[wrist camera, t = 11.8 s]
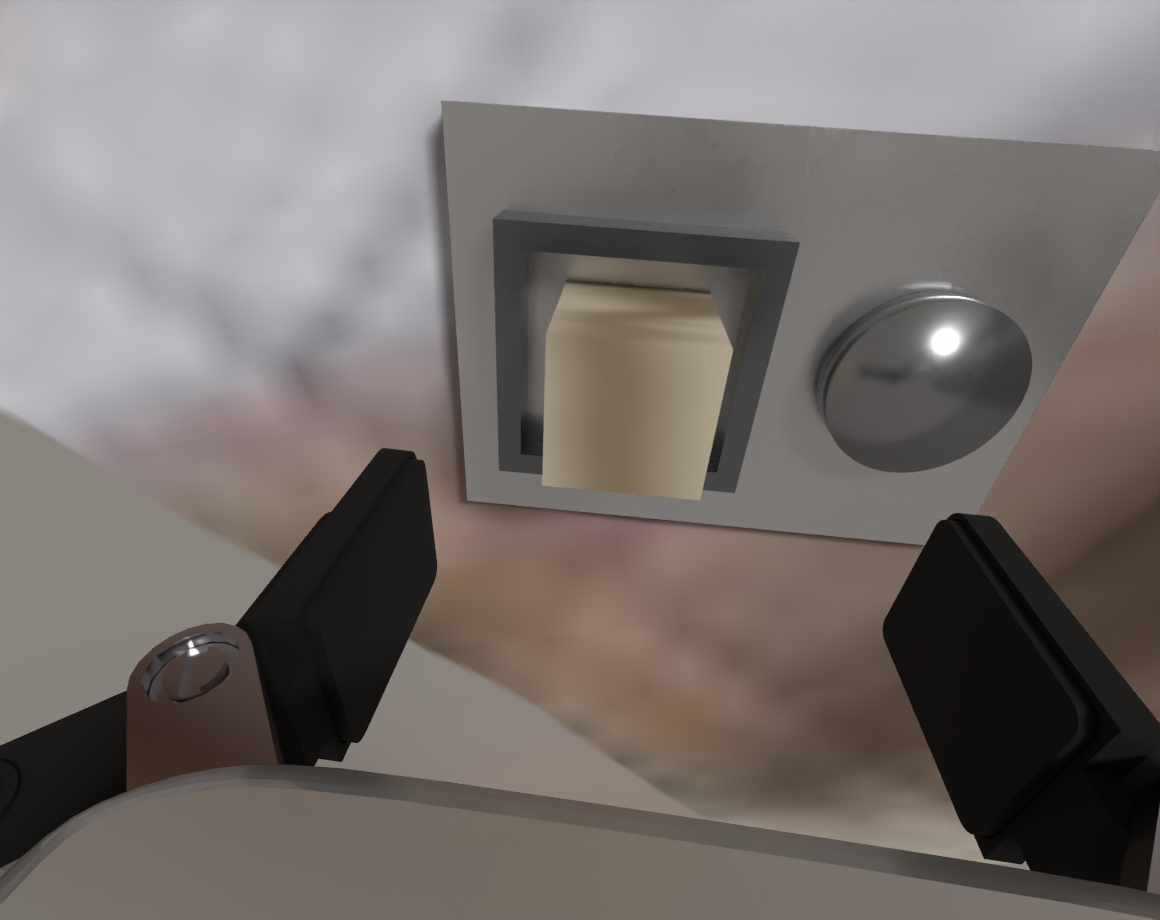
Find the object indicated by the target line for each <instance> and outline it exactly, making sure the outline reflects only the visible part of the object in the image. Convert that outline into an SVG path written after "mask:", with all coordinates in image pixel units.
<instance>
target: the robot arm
mask: <svg viewBox="0 0 1160 920" xmlns="http://www.w3.org/2000/svg"><path fill="white" fill-rule="evenodd" d="M436 572H437V559H436V550H435V542H434V533H433V525H432V516H431V508H430V500H429V491H428V483H427V474H426V467H425V463H424V461H423V460H417V458H416V455H415V453H414V452H412V451H405V450H396V449H387V448H383V449H381V450H380V451H378V453H377V454H376V455H375V457H374V458H373V459H372V460H371V462H370V463H369V464H368V466H367V467H366V468H365V469H364V471H363V472H362V473H361V475H360V476H359V477H358V478H357V480H356V481H355V482H354V484H353V485H352V486H351V487H350V489H349V490H348V491H347V492H346V494H345V495H344V496H343V498H342V499H341V500H340V501H339V503H338V504H337V505H336V507H335V508H334V509H333V510H332V512H329V513H326V514H325V515H324V516H323V517H322V518H321V519H319V521H318V522H317V523H316V525H315V526H314V527H313V528H312V530H311V531H310V532H309V533H308V535H307V536H306V537H305V538H304V540H303V541H302V542H301V543H300V545H299V546H298V547H297V548H296V550H295V551H294V552H293V554H292V555H291V556H290V557H289V559H288V560H287V561H286V562H285V564H284V565H283V566H282V567H281V569H280V570H279V571H278V573H277V574H276V575H275V576H274V578H273V579H272V580H271V581H270V583H269V584H268V585H267V586H266V588H265V589H264V590H263V592H262V593H261V594H260V595H259V596H258V598H257V599H256V600H255V602H254V603H253V604H252V605H251V607H250V608H249V609H248V610H247V612H246V613H245V614H244V615H243V617H242V618H241V619H240V621H239V622H238V623H237V624H236V626H234V625H229V624H225V623H216V624H204V625H200V626H196V627H193V628H188V629H186V630H184V631H182V632H180V633H177V634H175V635H173V636H171V637H169V638H167V639H166V640H164V641H163V642H161V643H160V644H159V645H157V646H155V647H154V648H153V649H152V650H151V651H150V652H149V653H148V654H147V655H145V657H143V658H142V659H141V660H140V661H139V663H138V664H137V666H136V667H135V669H134V671H133V672H132V674H131V675H130V678H129V682H128V687H127V691H125V692H122V693H120V694H118V695H115V696H113V697H111V698H109V699H106V700H104V701H102V702H99V703H97V704H95V705H93V706H90V707H88V708H86V709H83V710H81V711H79V712H76V713H74V714H72V715H70V716H67V717H65V718H63V719H60V720H58V721H56V722H54V723H51V724H49V725H47V726H44V727H42V728H40V729H37V730H35V731H33V732H31V733H28V734H26V735H24V736H22V737H19V738H17V739H15V740H12V741H10V742H8V743H5V744H3V745H1V746H0V920H1160V723H1159V722H1158V721H1157V719H1156V718H1155V717H1154V716H1153V714H1152V713H1151V712H1150V711H1149V709H1148V708H1147V707H1146V706H1145V704H1144V703H1143V702H1142V701H1141V699H1140V698H1139V697H1138V696H1137V694H1136V693H1135V692H1134V691H1133V689H1132V688H1131V687H1130V686H1129V684H1128V683H1127V682H1126V681H1125V679H1124V678H1123V677H1122V676H1121V674H1120V673H1119V672H1118V671H1117V669H1116V668H1115V667H1114V666H1113V664H1112V663H1111V662H1110V661H1109V659H1108V658H1107V657H1106V656H1105V654H1104V653H1103V652H1102V651H1101V649H1100V648H1099V647H1098V646H1097V644H1096V643H1095V642H1094V641H1093V639H1092V638H1091V637H1090V636H1089V634H1088V633H1087V632H1086V631H1085V629H1084V628H1083V627H1082V626H1081V624H1080V623H1079V622H1078V621H1077V619H1076V618H1075V617H1074V616H1073V614H1072V613H1071V612H1070V611H1069V609H1068V608H1067V607H1066V606H1065V604H1064V603H1063V602H1062V601H1061V599H1060V598H1059V597H1058V596H1057V594H1056V593H1055V592H1054V591H1053V589H1052V588H1051V587H1050V586H1049V584H1048V583H1047V582H1046V581H1045V579H1044V578H1043V577H1042V576H1041V574H1040V573H1039V572H1038V571H1037V569H1036V568H1035V567H1034V566H1033V564H1032V563H1031V562H1030V561H1029V559H1028V558H1027V557H1026V556H1025V554H1024V553H1023V552H1022V551H1021V549H1020V548H1019V547H1018V546H1017V544H1016V543H1015V542H1014V541H1013V539H1012V538H1011V537H1010V536H1009V534H1008V533H1007V532H1006V531H1005V529H1004V528H1003V527H1002V526H1001V524H1000V523H999V522H998V521H997V520H996V519H995V518H993V517H990V516H982V515H973V514H964V513H953V514H952V515H950V516H949V517H948V518H947V519H946V520H941V521H939V522H938V523H937V524H936V526H935V528H934V529H933V531H932V533H931V535H930V537H929V539H928V541H927V542H926V544H925V546H924V548H923V550H922V552H921V554H920V555H919V557H918V559H917V561H916V563H915V565H914V566H913V568H912V570H911V572H910V574H909V576H908V578H907V579H906V581H905V583H904V585H903V587H902V589H901V591H900V592H899V594H898V596H897V598H896V600H895V602H894V603H893V605H892V607H891V609H890V611H889V613H888V615H887V616H886V618H885V621H884V624H883V636H884V640H885V643H886V645H887V647H888V650H889V652H890V655H891V657H892V659H893V662H894V664H895V667H896V669H897V671H898V674H899V676H900V679H901V681H902V683H903V686H904V688H905V691H906V693H907V695H908V698H909V700H910V702H911V705H912V707H913V710H914V712H915V714H916V717H917V719H918V722H919V724H920V726H921V729H922V731H923V734H924V736H925V738H926V741H927V743H928V746H929V748H930V750H931V753H932V755H933V758H934V760H935V762H936V765H937V767H938V769H939V772H940V774H941V777H942V779H943V781H944V784H945V786H946V789H947V791H948V793H949V796H950V798H951V801H952V803H953V805H954V808H955V810H956V813H957V815H958V817H959V820H960V822H961V824H962V825H963V827H964V828H965V829H966V831H968V832H969V833H970V834H974V836H975V839H976V841H977V843H978V846H979V848H980V850H981V853H982V855H983V857H984V859H989V860H996V861H1002V862H1009V863H1015V864H1022V863H1024V862H1025V861H1026V862H1027V864H1028V866H1029V868H1030V871H1029V870H1024V869H1017V868H1012V867H1006V866H1000V865H994V864H987V863H981V862H975V861H968V860H962V859H955V858H949V857H943V856H936V855H930V854H923V853H917V852H911V851H904V850H898V849H891V848H885V847H879V846H872V845H866V844H859V843H853V842H846V841H840V840H834V839H827V838H821V837H814V836H808V835H801V834H794V833H788V832H781V831H775V830H768V829H762V828H755V827H748V826H742V825H735V824H729V823H722V822H715V821H709V820H702V819H695V818H689V817H682V816H675V815H669V814H662V813H655V812H649V811H642V810H635V809H629V808H622V807H615V806H609V805H601V804H595V803H588V802H581V801H574V800H568V799H560V798H554V797H547V796H540V795H533V794H525V793H520V792H512V791H506V790H499V789H492V788H485V787H478V786H471V785H465V784H458V783H451V782H444V781H436V780H427V779H420V778H412V777H404V776H396V775H389V774H381V773H373V772H365V771H357V770H349V769H340V768H327V767H314V766H315V764H316V762H317V760H318V759H325V760H332V761H338V762H342V760H343V758H344V756H345V754H346V752H347V749H348V748H349V746H350V743H351V742H353V743H358V742H360V741H361V739H362V738H363V736H364V734H365V732H366V730H367V728H368V726H369V724H370V722H371V719H372V717H373V715H374V713H375V711H376V708H377V706H378V704H379V702H380V700H381V697H382V695H383V693H384V691H385V689H386V686H387V684H388V682H389V680H390V678H391V675H392V673H393V671H394V669H395V667H396V664H397V662H398V660H399V658H400V656H401V654H402V651H403V649H404V647H405V645H406V643H407V640H408V638H409V636H410V634H411V632H412V629H413V627H414V625H415V623H416V621H417V618H418V616H419V614H420V612H421V610H422V607H423V605H424V603H425V601H426V599H427V596H428V594H429V592H430V590H431V588H432V585H433V583H434V581H435V577H436Z"/></svg>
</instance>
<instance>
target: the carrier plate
mask: <svg viewBox="0 0 1160 920" xmlns="http://www.w3.org/2000/svg"><path fill="white" fill-rule="evenodd" d="M441 103H442V118H443V134H444V149H445V165H446V180H447V195H448V211H449V226H450V242H451V257H452V273H453V288H454V304H455V319H456V335H457V350H458V365H459V381H460V396H461V412H462V427H463V443H464V458H465V474H466V489H467V501H477V502H487V503H497V504H507V505H518V506H528V507H538V508H548V509H559V510H569V511H579V512H590V513H600V514H610V515H620V516H631V517H641V518H651V519H661V520H672V521H682V522H692V523H702V524H713V525H723V526H733V527H743V528H754V529H764V530H774V531H785V532H795V533H805V534H815V535H826V536H836V537H846V538H856V539H867V540H877V541H887V542H897V543H908V544H918V545H925V544H926V542H927V541H928V539H929V537H930V535H931V533H932V531H933V529H934V528H935V526H936V524H937V523H938V522H939V521H941V520H946V519H947V518H948V517H949V516H950V515H952V514H953V513H964V514H973V515H976V514H977V512H978V510H979V509H980V507H981V505H982V503H983V502H984V500H985V498H986V496H987V495H988V493H989V491H990V489H991V487H992V486H993V484H994V482H995V480H996V479H997V477H998V475H999V473H1000V472H1001V470H1002V468H1003V466H1004V465H1005V463H1006V461H1007V459H1008V458H1009V456H1010V454H1011V452H1012V450H1013V449H1014V447H1015V445H1016V443H1017V442H1018V440H1019V438H1020V436H1021V435H1022V433H1023V431H1024V429H1025V428H1026V426H1027V424H1028V422H1029V421H1030V419H1031V417H1032V415H1033V414H1034V412H1035V410H1036V408H1037V406H1038V405H1039V403H1040V401H1041V399H1042V398H1043V396H1044V394H1045V392H1046V391H1047V389H1048V387H1049V385H1050V384H1051V382H1052V380H1053V378H1054V377H1055V375H1056V373H1057V371H1058V369H1059V368H1060V366H1061V364H1062V362H1063V361H1064V359H1065V357H1066V355H1067V354H1068V352H1069V350H1070V348H1071V347H1072V345H1073V343H1074V341H1075V340H1076V338H1077V336H1078V334H1079V333H1080V331H1081V329H1082V327H1083V325H1084V324H1085V322H1086V320H1087V318H1088V317H1089V315H1090V313H1091V311H1092V310H1093V308H1094V306H1095V304H1096V303H1097V301H1098V299H1099V297H1100V296H1101V294H1102V292H1103V290H1104V288H1105V287H1106V285H1107V283H1108V281H1109V280H1110V278H1111V276H1112V274H1113V273H1114V271H1115V269H1116V267H1117V266H1118V264H1119V262H1120V260H1121V259H1122V257H1123V255H1124V253H1125V252H1126V250H1127V248H1128V246H1129V244H1130V243H1131V241H1132V239H1133V237H1134V236H1135V234H1136V232H1137V230H1138V229H1139V227H1140V225H1141V223H1142V222H1143V220H1144V218H1145V216H1146V215H1147V213H1148V211H1149V209H1150V208H1151V206H1152V204H1153V202H1154V200H1155V199H1156V197H1157V195H1158V193H1159V192H1160V151H1152V150H1138V149H1123V148H1109V147H1095V146H1081V145H1067V144H1052V143H1038V142H1024V141H1010V140H996V139H981V138H967V137H953V136H939V135H925V134H910V133H896V132H882V131H868V130H854V129H839V128H825V127H811V126H797V125H783V124H768V123H754V122H740V121H726V120H712V119H697V118H683V117H669V116H655V115H641V114H626V113H612V112H598V111H584V110H570V109H555V108H541V107H527V106H513V105H499V104H484V103H470V102H456V101H441ZM567 280H569V281H581V282H594V283H606V284H618V285H631V286H643V287H656V288H668V289H680V290H693V291H705V292H710V294H711V296H712V299H713V301H714V304H715V306H716V309H717V311H718V314H719V316H720V318H721V321H722V323H723V326H724V328H725V331H726V333H727V336H728V338H729V341H730V343H731V346H732V348H733V353H732V358H731V362H730V367H729V371H728V376H727V380H726V385H725V390H724V394H723V399H722V403H721V408H720V412H719V417H718V422H717V426H716V431H715V435H714V440H713V444H712V449H711V453H710V458H709V463H708V467H707V472H706V476H705V481H704V485H703V490H702V495H701V499H700V500H690V499H679V498H669V497H658V496H648V495H637V494H627V493H616V492H606V491H595V490H585V489H574V488H564V487H553V486H543V485H542V471H543V432H544V392H545V353H546V333H547V330H548V327H549V325H550V322H551V320H552V317H553V314H554V312H555V309H556V307H557V304H558V301H559V299H560V296H561V294H562V291H563V288H564V286H565V283H566V281H567Z"/></svg>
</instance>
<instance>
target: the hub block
mask: <svg viewBox="0 0 1160 920" xmlns="http://www.w3.org/2000/svg"><path fill="white" fill-rule="evenodd" d="M732 353H733V348H732V346H731V343H730V341H729V338H728V336H727V333H726V331H725V328H724V326H723V323H722V321H721V318H720V316H719V314H718V311H717V309H716V306H715V304H714V301H713V299H712V296H711V294H710V292H705V291H693V290H680V289H668V288H656V287H643V286H631V285H618V284H606V283H594V282H581V281H569V280H567V281H566V283H565V286H564V288H563V291H562V294H561V296H560V299H559V301H558V304H557V307H556V309H555V312H554V314H553V317H552V320H551V322H550V325H549V327H548V330H547V333H546V353H545V392H544V432H543V471H542V485H543V486H553V487H564V488H574V489H585V490H595V491H606V492H616V493H627V494H637V495H648V496H658V497H669V498H679V499H690V500H700V499H701V495H702V490H703V485H704V481H705V476H706V472H707V467H708V463H709V458H710V453H711V449H712V444H713V440H714V435H715V431H716V426H717V422H718V417H719V412H720V408H721V403H722V399H723V394H724V390H725V385H726V380H727V376H728V371H729V367H730V362H731V358H732Z"/></svg>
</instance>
